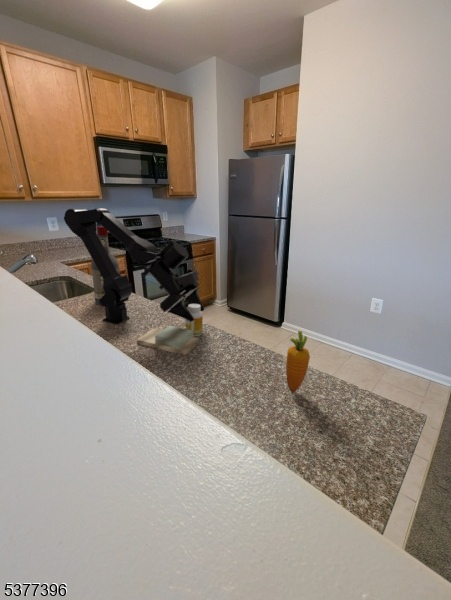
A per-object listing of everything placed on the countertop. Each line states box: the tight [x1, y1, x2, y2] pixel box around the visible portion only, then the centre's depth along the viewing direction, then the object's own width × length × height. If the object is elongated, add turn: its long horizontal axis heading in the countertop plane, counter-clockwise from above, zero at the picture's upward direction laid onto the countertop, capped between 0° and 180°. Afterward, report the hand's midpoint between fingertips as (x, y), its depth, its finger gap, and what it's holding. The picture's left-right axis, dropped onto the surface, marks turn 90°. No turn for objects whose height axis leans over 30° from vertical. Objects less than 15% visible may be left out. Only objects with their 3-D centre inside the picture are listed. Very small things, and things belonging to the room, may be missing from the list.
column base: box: [136, 325, 200, 356], centre depth 82 cm, size 16×9×4 cm, turn 70°
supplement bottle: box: [185, 303, 203, 337], centre depth 88 cm, size 5×5×10 cm
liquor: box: [90, 225, 120, 307], centre depth 108 cm, size 9×9×30 cm
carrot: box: [285, 330, 311, 393], centre depth 61 cm, size 5×5×15 cm
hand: (198, 315), depth 87 cm, fingers open, 9 cm apart
